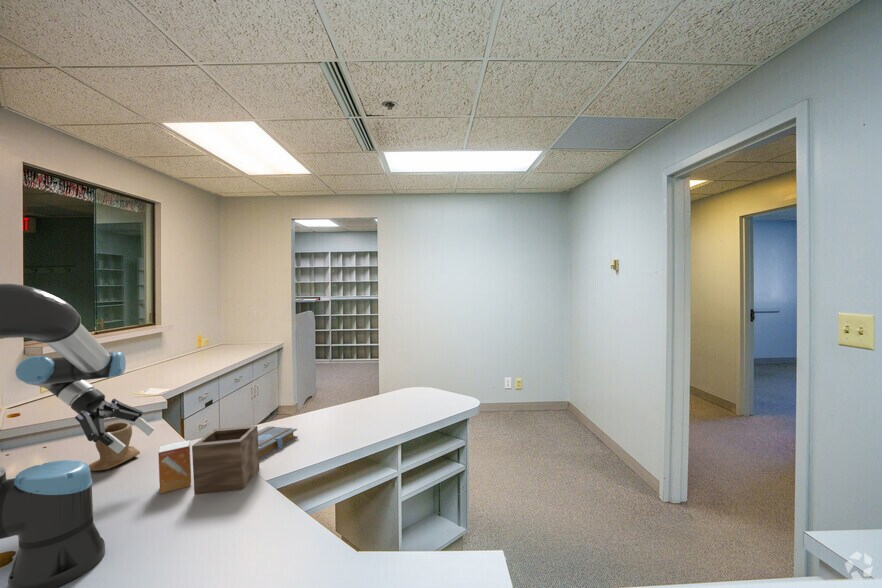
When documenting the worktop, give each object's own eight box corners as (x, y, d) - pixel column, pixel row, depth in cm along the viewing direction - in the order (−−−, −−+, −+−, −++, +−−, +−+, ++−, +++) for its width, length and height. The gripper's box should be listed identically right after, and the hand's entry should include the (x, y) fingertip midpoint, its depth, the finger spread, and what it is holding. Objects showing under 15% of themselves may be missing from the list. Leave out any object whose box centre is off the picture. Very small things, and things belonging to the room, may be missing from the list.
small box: (159, 494, 113) (157, 452, 113) (161, 486, 118) (159, 445, 118) (191, 485, 118) (189, 445, 117) (191, 478, 123) (189, 439, 123)
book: (267, 435, 159) (266, 424, 159) (298, 438, 154) (298, 426, 154) (225, 457, 139) (224, 444, 139) (259, 461, 134) (259, 447, 134)
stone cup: (109, 474, 128) (106, 431, 128) (81, 472, 130) (79, 430, 130) (150, 454, 143) (148, 416, 143) (125, 453, 145) (123, 416, 145)
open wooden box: (242, 489, 114) (240, 441, 114) (194, 494, 112) (191, 445, 112) (259, 468, 128) (257, 425, 128) (216, 472, 126) (214, 429, 126)
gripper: (105, 395, 127) (154, 434, 129) (35, 420, 102) (97, 468, 104) (121, 379, 127) (170, 418, 129) (55, 399, 103) (116, 448, 105)
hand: (138, 440), depth 117 cm, fingers open, 13 cm apart
